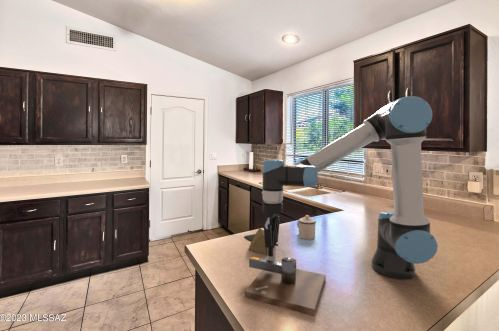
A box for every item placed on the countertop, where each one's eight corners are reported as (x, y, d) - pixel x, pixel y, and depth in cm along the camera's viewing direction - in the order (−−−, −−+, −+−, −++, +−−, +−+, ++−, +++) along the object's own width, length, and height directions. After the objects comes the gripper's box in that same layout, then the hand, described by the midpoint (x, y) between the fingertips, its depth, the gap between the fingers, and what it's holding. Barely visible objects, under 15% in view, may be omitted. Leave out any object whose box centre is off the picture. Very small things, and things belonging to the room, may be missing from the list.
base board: (325, 280, 94) (325, 274, 94) (314, 316, 74) (314, 308, 74) (268, 268, 103) (268, 263, 103) (244, 297, 83) (244, 290, 83)
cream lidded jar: (319, 237, 139) (319, 216, 138) (306, 240, 134) (307, 218, 133) (303, 231, 149) (303, 211, 148) (291, 234, 144) (291, 213, 143)
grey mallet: (297, 278, 91) (297, 257, 90) (293, 285, 86) (294, 262, 86) (252, 268, 98) (253, 248, 97) (247, 274, 93) (247, 253, 93)
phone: (274, 235, 140) (250, 240, 132) (274, 237, 140) (250, 242, 132) (266, 231, 146) (243, 236, 139) (266, 233, 146) (243, 237, 139)
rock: (278, 249, 117) (269, 238, 126) (269, 236, 114) (260, 226, 123) (259, 265, 115) (252, 253, 124) (249, 252, 112) (242, 241, 121)
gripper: (269, 197, 103) (268, 255, 105) (256, 203, 91) (255, 268, 93) (287, 199, 100) (286, 258, 102) (276, 206, 88) (275, 273, 90)
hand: (271, 263), depth 97 cm, fingers closed
